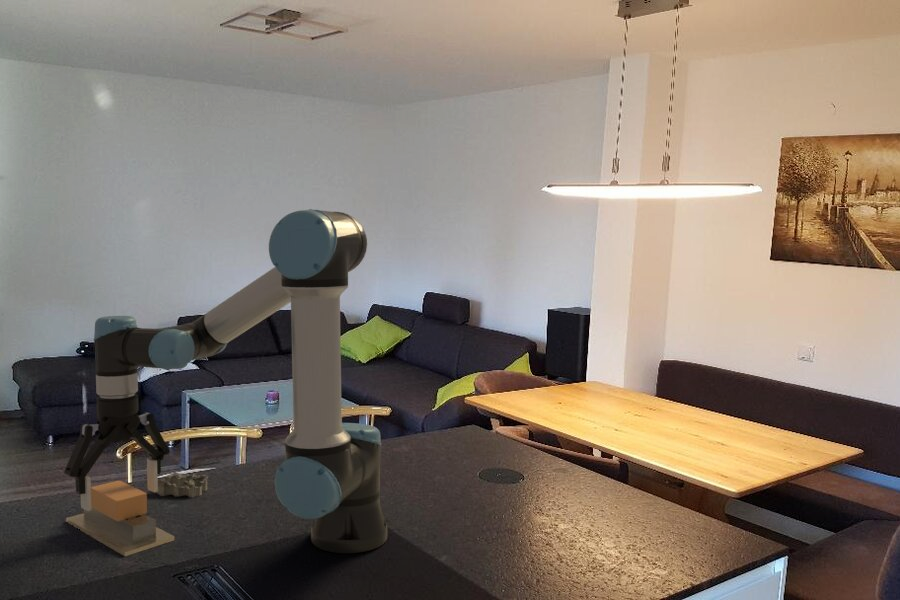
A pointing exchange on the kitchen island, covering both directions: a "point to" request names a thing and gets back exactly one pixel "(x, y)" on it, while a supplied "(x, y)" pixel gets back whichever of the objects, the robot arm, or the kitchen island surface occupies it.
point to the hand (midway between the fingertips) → (120, 499)
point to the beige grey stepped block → (121, 531)
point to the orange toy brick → (118, 500)
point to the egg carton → (182, 485)
